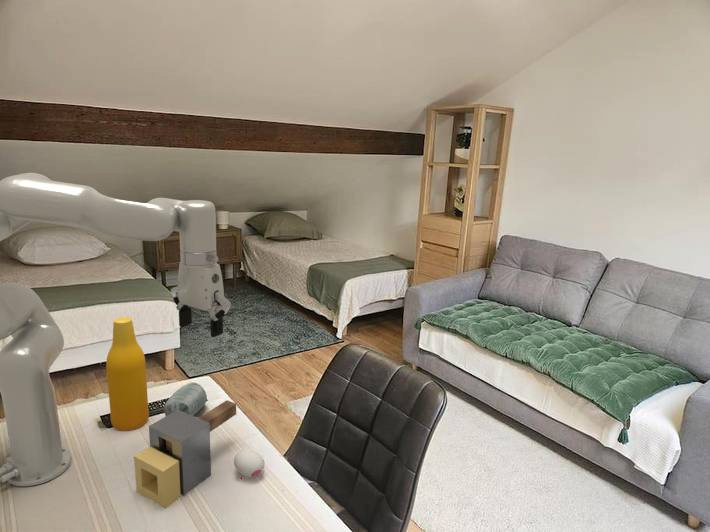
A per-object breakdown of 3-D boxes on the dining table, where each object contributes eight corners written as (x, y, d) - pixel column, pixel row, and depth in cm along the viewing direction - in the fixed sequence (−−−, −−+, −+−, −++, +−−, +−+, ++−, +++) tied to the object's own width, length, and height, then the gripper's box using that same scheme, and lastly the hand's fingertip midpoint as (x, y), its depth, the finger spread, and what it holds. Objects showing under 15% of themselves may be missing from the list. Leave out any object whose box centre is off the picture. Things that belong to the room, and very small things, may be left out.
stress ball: (266, 486, 114) (277, 457, 116) (247, 486, 107) (259, 456, 109) (241, 473, 117) (253, 445, 119) (222, 472, 111) (234, 443, 112)
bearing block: (184, 496, 105) (181, 441, 102) (152, 478, 110) (148, 426, 106) (211, 474, 112) (209, 423, 108) (180, 459, 116) (177, 409, 113)
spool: (190, 424, 125) (178, 386, 126) (160, 433, 127) (150, 396, 129) (220, 409, 138) (209, 375, 139) (193, 418, 140) (183, 385, 142)
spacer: (165, 508, 101) (163, 471, 99) (136, 491, 106) (133, 456, 103) (180, 496, 105) (178, 460, 102) (152, 481, 109) (149, 446, 107)
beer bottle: (154, 412, 135) (148, 313, 127) (142, 431, 126) (134, 327, 119) (119, 411, 134) (111, 313, 127) (105, 431, 125) (95, 326, 118)
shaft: (176, 454, 106) (175, 442, 105) (166, 450, 107) (165, 438, 106) (236, 414, 122) (236, 403, 121) (227, 410, 123) (227, 400, 123)
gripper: (240, 260, 106) (241, 333, 110) (183, 248, 114) (186, 317, 118) (215, 267, 99) (217, 345, 104) (157, 254, 107) (161, 326, 112)
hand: (201, 330), depth 111 cm, fingers open, 9 cm apart
